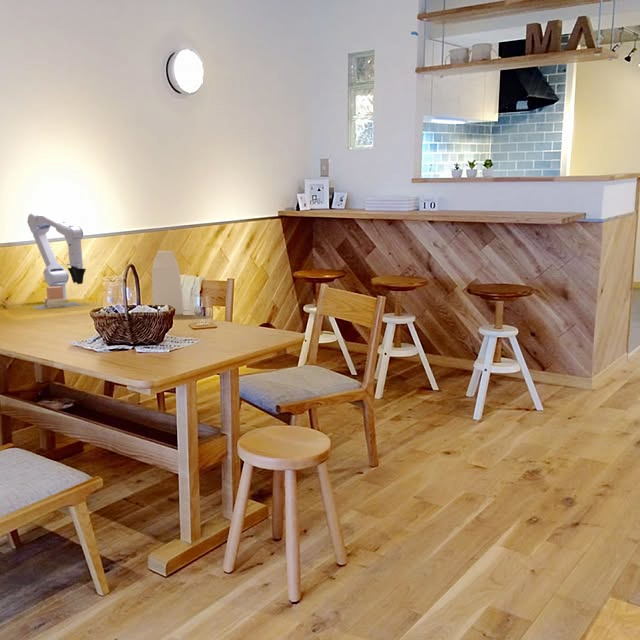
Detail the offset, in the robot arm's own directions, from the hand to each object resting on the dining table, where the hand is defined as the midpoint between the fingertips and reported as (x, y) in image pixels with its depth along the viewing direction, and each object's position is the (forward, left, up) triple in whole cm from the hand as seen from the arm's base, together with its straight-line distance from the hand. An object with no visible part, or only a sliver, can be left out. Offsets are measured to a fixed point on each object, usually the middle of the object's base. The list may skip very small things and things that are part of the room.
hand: (77, 283), depth 337 cm
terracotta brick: (+5, -12, -5) cm, 14 cm away
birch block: (+5, -12, -9) cm, 16 cm away
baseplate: (+4, -11, -10) cm, 16 cm away
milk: (+51, +24, -11) cm, 57 cm away
